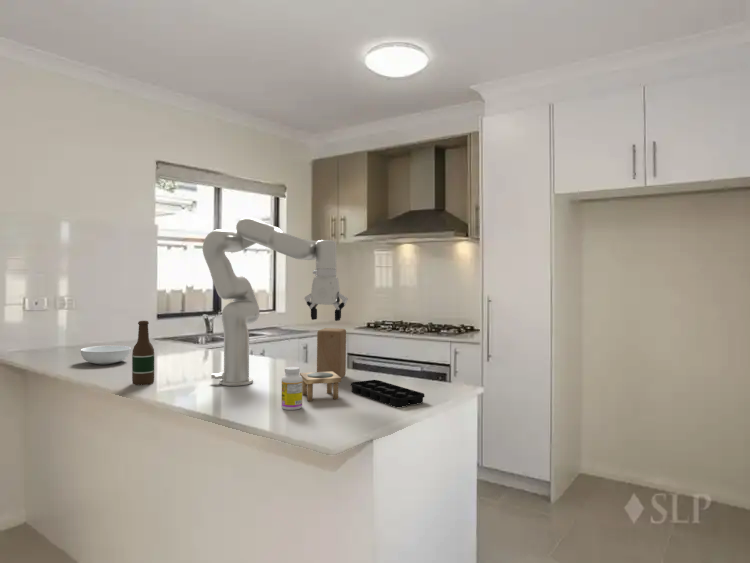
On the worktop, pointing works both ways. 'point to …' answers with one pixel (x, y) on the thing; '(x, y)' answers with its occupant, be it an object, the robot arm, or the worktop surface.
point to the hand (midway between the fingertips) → (325, 319)
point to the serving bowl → (105, 354)
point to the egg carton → (387, 393)
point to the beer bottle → (143, 357)
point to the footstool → (320, 378)
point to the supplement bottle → (292, 389)
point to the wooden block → (331, 351)
